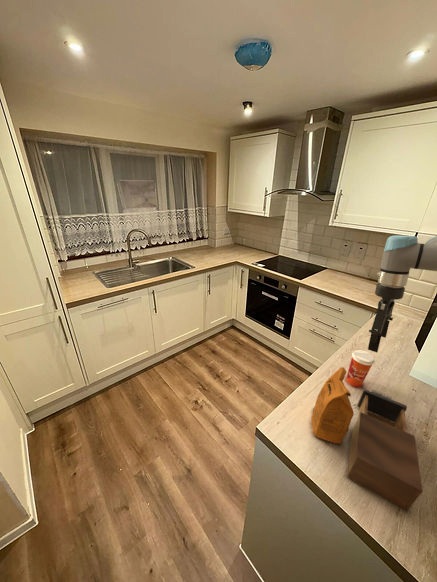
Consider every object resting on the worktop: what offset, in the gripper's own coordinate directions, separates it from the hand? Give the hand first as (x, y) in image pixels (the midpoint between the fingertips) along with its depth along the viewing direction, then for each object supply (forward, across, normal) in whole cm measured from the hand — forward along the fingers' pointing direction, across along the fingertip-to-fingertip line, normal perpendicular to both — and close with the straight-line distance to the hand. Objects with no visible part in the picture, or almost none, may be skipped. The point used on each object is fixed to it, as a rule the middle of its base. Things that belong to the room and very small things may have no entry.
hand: (377, 343), depth 82 cm
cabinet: (+27, +24, +9) cm, 37 cm away
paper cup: (+23, -6, -5) cm, 24 cm away
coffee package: (+25, +22, -6) cm, 34 cm away
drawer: (+24, +9, +6) cm, 27 cm away
